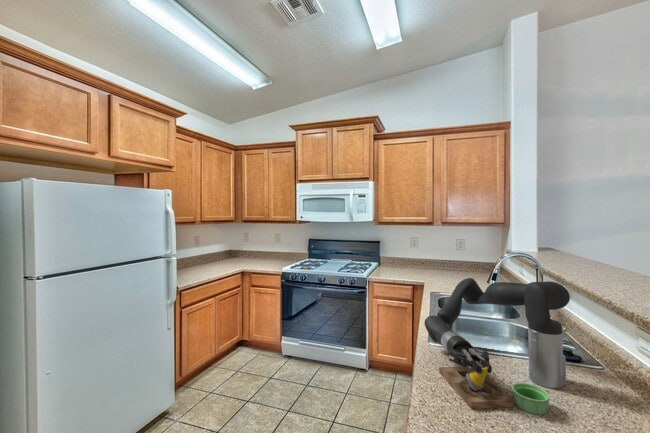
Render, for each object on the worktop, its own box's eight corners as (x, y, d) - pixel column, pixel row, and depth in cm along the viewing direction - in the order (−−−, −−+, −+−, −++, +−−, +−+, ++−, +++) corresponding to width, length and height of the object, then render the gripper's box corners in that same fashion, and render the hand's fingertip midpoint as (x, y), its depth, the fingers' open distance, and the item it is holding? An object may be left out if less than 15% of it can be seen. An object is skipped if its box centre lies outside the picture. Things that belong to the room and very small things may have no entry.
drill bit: (469, 379, 96) (488, 359, 92) (479, 395, 91) (500, 376, 87) (457, 377, 94) (476, 357, 90) (467, 394, 89) (487, 374, 85)
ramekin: (531, 418, 81) (530, 402, 81) (505, 399, 90) (504, 384, 90) (558, 414, 82) (557, 398, 83) (530, 395, 91) (529, 381, 91)
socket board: (474, 371, 106) (474, 365, 106) (514, 406, 86) (514, 399, 86) (439, 372, 105) (439, 367, 105) (471, 409, 85) (471, 402, 85)
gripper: (474, 355, 106) (507, 381, 89) (437, 356, 105) (463, 383, 88) (474, 334, 106) (507, 356, 89) (437, 335, 105) (462, 358, 88)
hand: (485, 370), depth 88 cm, fingers closed on drill bit, 2 cm apart
